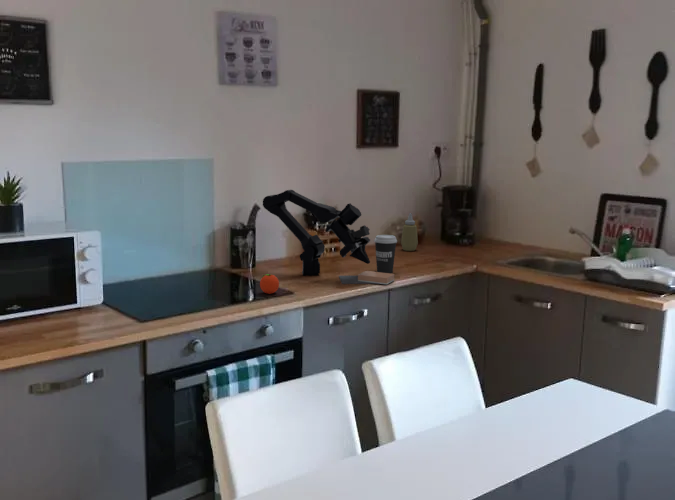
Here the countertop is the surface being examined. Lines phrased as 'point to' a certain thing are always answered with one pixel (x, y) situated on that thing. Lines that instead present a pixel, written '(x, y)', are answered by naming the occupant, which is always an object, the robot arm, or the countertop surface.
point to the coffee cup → (385, 252)
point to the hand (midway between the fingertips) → (369, 263)
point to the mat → (352, 280)
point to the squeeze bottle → (409, 235)
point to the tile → (376, 277)
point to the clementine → (269, 283)
